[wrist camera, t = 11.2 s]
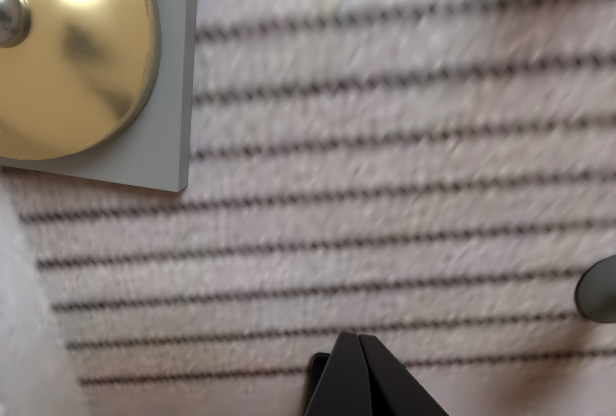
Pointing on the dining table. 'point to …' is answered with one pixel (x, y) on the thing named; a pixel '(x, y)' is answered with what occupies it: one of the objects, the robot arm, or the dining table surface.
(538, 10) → the dining table surface
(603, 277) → the sundae
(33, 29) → the handwheel
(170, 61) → the base plate
